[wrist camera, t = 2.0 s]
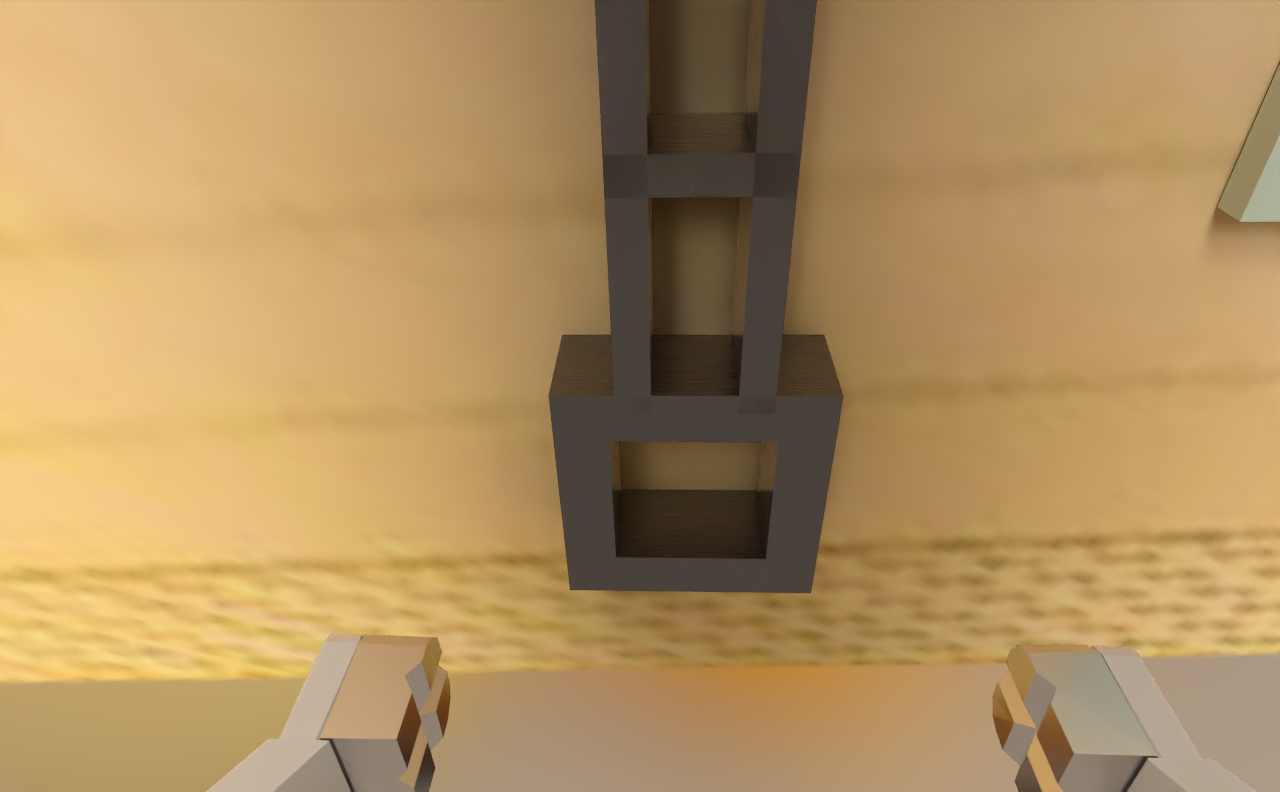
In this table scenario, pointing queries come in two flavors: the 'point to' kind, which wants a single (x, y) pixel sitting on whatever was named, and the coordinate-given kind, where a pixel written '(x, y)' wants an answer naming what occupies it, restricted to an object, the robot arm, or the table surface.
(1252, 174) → the keeper board
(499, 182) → the table surface
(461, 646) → the table surface
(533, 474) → the table surface
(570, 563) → the grey hollow frame
